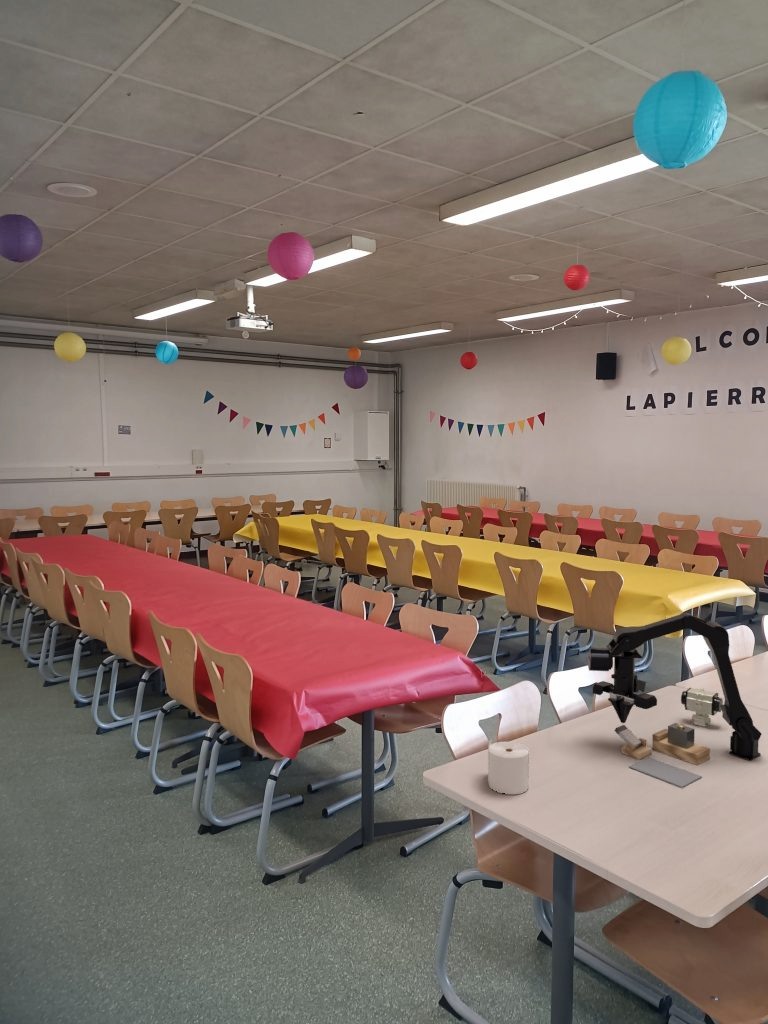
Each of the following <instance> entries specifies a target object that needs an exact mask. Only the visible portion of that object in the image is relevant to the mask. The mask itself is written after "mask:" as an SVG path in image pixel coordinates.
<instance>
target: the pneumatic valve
mask: <svg viewBox="0 0 768 1024" xmlns="http://www.w3.org/2000/svg"><path fill="white" fill-rule="evenodd" d="M723 702H724V701H723V698H721V697H720V695H719V692H715V691H709V690H705V689H704V688H702V687H701V688H700V689H699V688H695V687H689V688H688V689H686V690H683V691H682V692H681V697H680V703H681V704H682V705H684V710H686V711H691V712H694V713H693V714H692V715H691V722H692V723H693V725H694V726H698V727H703V728H706V727H708V726H710V724H711V721H712V720H711V717H710V716H716V715H717V713H721V712H722V710H721V708H720V705H724V703H723Z"/></svg>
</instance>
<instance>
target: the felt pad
mask: <svg viewBox="0 0 768 1024" xmlns="http://www.w3.org/2000/svg"><path fill="white" fill-rule="evenodd" d="M628 768H629V769H631V770H633V771H636V772H639V773H642V774H644V775H647V776H650V777H652V778H655V779H657V780H660V781H661V782H664V783H667V784H670V785H672V786H674V787H678V788H681V789H684V788H685V787H687V786H689V785H690V784H693V783H694V782H697V781H698V780H701V779H702V778H703V775H700V774H697V773H694V772H691V771H689V770H686V769H683V768H680V767H678V766H674V765H672V764H669V763H667V762H664V761H661V760H658V759H656V758H653V757H651V756H647V757H645V758H643V759H641V760H639V761H637V762H634V763H632V764H630V765H628Z"/></svg>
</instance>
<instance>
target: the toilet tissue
mask: <svg viewBox="0 0 768 1024" xmlns="http://www.w3.org/2000/svg"><path fill="white" fill-rule="evenodd" d="M492 741H493V740H492V738H490V740H489V742H488V745H487V746H488V747H487V750H488V751H487V755H488V756H487V757H488V758H487V759H488V761H487V782H488V783H487V784H488V787H489V788H490V789H491V790H492V789H493V792H496V791H497V792H496V793H499V794H502V793H505V794H504V795H519V794H523V793H525V792H527V791H528V790H529V787H530V786H529V785H530V783H529V782H530V775H529V774H530V750H529V748H528V747H527V746H526V745H524V744H522V743H519V742H514V741H499V742H498V741H497V742H494V743H492ZM527 789H528V790H527Z"/></svg>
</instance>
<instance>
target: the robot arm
mask: <svg viewBox="0 0 768 1024" xmlns="http://www.w3.org/2000/svg"><path fill="white" fill-rule="evenodd" d="M686 629H688V630H690V631H693V632H694V633H697V634H699V635H700V636H702V638H703V640H704V642H705V644H706V645H707V647H708V649H709V650H710V652H711V654H712V657H713V661H714V665H715V668H716V671H717V675H718V680H719V682H720V686H721V689H722V693H723V696H724V697H723V698H724V701H723V702H724V703H723V705H720V708H721V712H722V719H724V720H725V722H726V723H727V724H728V725H729V726H731V728H732V729H733V731H732V732H731V735H730V736H729V737H730V740H729V741H730V742H729V746H730V747H729V749H730V751H728V754H729V755H731V756H735V757H737V758H741V759H743V760H748V761H753V760H755V759H757V758H759V757H761V753H760V752H759V740H761V736H762V733H761V731H760V730H758V728H757V727H756V726H755V725H754V721H753V719H752V717H751V715H750V712H749V710H748V709H747V707H746V705H745V703H744V702H743V700H742V698H741V695H740V691H739V688H738V687H739V686H738V683H737V681H736V677H735V672H734V669H733V667H732V662H731V657H730V655H729V651H730V636H729V633H728V630H727V629H726V628H725V627H723V626H722V625H720V624H719V622H716V621H706V620H704V619H702V618H699V617H697V616H694V615H692V614H691V613H689V612H687V611H686V612H681V613H680V614H677V615H675V616H671V617H669V618H665V619H662V620H658V621H655V622H652V623H651V622H650V623H648V624H645V625H639V626H626V627H625V626H624V627H619V628H618V629H616V630H615V631H614V633H613V638H612V639H611V640H610V641H609V642H608V644H607V645H606V647H605V648H603V647H600V648H599V647H593V646H592V647H589V651H588V656H587V668H588V671H592V672H594V671H595V672H609V671H610V670H612V669H613V674H611V677H610V678H611V679H613V683H611V682H609V681H604V680H603V681H599V682H595V683H593V686H592V687H591V693H592V694H595V695H597V696H601V695H602V694H604V693H606V694H609V698H607V700H608V701H609V702H610V703H611V705H612V707H613V709H614V710H615V712H616V714H617V716H618V717H617V718H618V719H619V721H620V723H621V724H626V722H627V719H628V717H629V715H630V713H631V710H632V709H633V707H634V706H635V707H636V708H639V709H642V710H648V709H651V708H653V707H655V706H658V698H657V697H656V695H653V694H651V693H646V692H645V691H646V690H645V689H646V684H647V681H644V680H640V679H638V675H637V674H635V666H636V665H635V662H636V661H635V660H636V659H642V658H643V656H642V655H641V653H640V652H639V651H638V650H637V648H639V647H641V646H642V645H644V644H645V643H646V642H649V641H650V640H655V639H658V638H660V637H664V636H668V635H671V634H673V633H677V632H680V631H684V630H686ZM639 691H640V692H641V694H636V693H639Z"/></svg>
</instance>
